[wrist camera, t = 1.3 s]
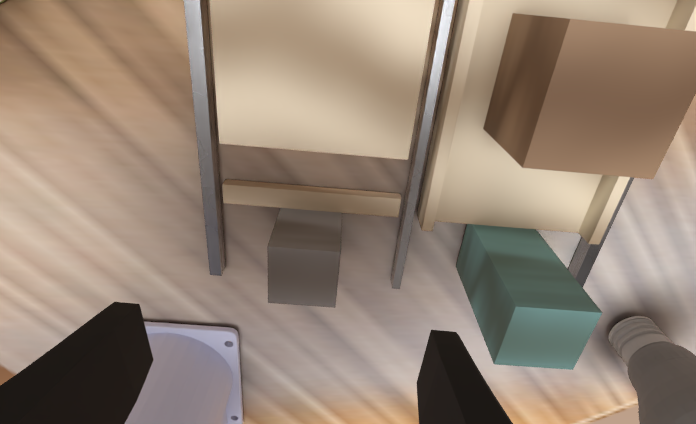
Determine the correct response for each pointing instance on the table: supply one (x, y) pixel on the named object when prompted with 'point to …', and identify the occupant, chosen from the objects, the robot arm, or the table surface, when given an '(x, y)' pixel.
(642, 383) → the light bulb
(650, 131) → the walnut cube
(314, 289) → the cream flat panel
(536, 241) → the cream sliding tray
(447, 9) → the lane rails
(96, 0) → the table surface
